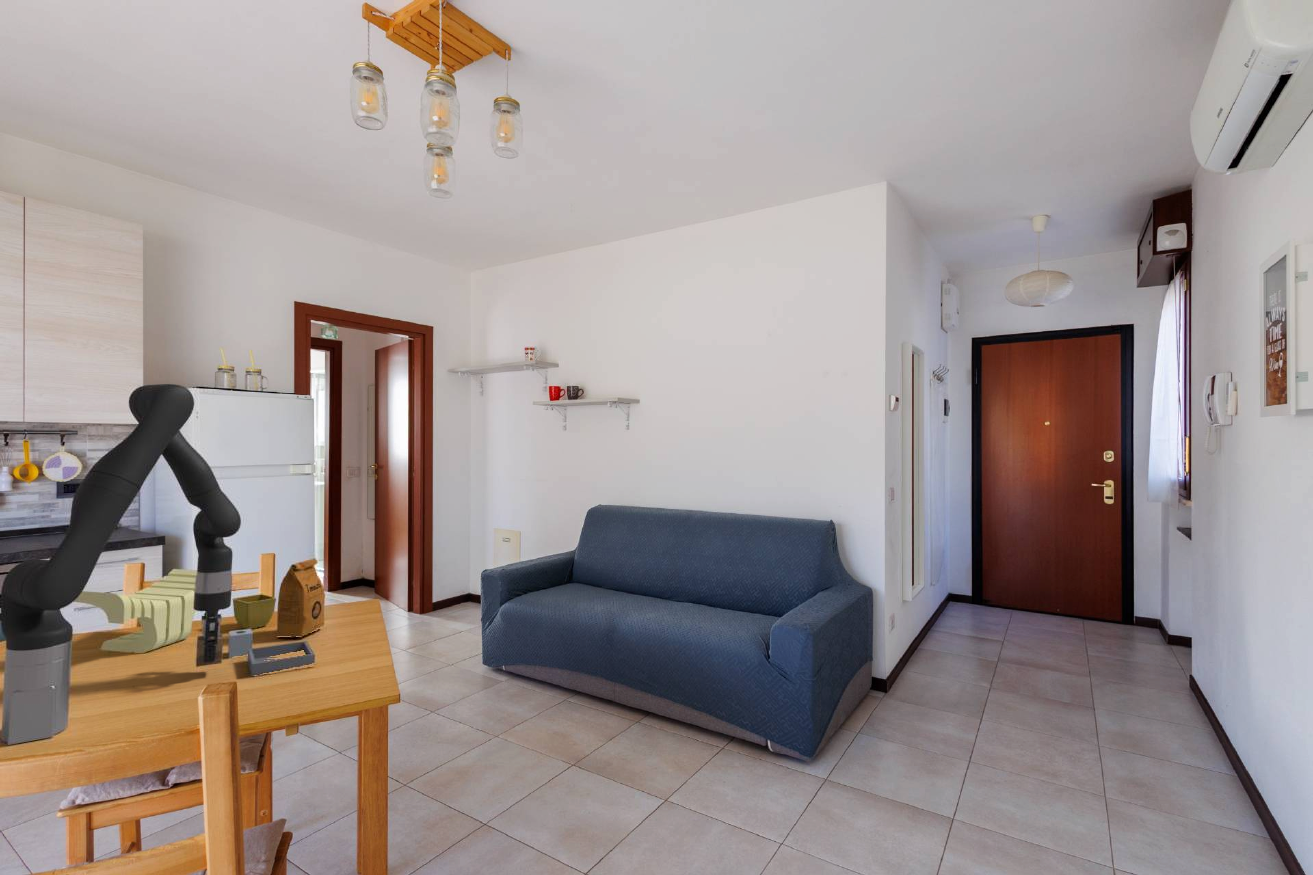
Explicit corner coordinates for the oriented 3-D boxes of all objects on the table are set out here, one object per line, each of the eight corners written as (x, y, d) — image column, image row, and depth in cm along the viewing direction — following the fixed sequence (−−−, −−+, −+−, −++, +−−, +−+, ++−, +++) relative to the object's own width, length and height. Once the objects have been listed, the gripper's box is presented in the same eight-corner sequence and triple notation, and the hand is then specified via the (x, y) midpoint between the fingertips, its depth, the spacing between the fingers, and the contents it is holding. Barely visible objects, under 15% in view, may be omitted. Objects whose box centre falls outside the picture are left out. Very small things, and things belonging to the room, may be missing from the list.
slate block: (251, 655, 168) (252, 633, 168) (229, 658, 165) (230, 635, 165) (250, 650, 172) (251, 628, 172) (228, 653, 169) (229, 631, 169)
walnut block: (221, 663, 153) (223, 636, 153) (196, 666, 150) (197, 639, 150) (220, 657, 157) (222, 631, 157) (196, 660, 154) (197, 634, 154)
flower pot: (260, 621, 199) (262, 593, 199) (275, 626, 195) (277, 597, 195) (230, 627, 192) (232, 598, 192) (245, 632, 187) (246, 602, 187)
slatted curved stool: (121, 664, 158) (125, 594, 159) (66, 659, 160) (70, 590, 161) (218, 631, 188) (221, 571, 188) (171, 627, 190) (173, 568, 190)
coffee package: (329, 629, 193) (332, 558, 194) (301, 641, 181) (304, 565, 181) (300, 627, 195) (303, 556, 195) (270, 638, 182) (273, 563, 183)
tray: (314, 667, 161) (314, 654, 161) (251, 677, 153) (252, 664, 153) (306, 652, 172) (306, 640, 172) (247, 661, 163) (247, 648, 164)
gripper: (233, 593, 151) (228, 664, 150) (230, 582, 162) (226, 648, 162) (194, 596, 146) (189, 669, 146) (194, 585, 158) (189, 653, 157)
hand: (208, 658), depth 154 cm, fingers closed on walnut block, 5 cm apart
